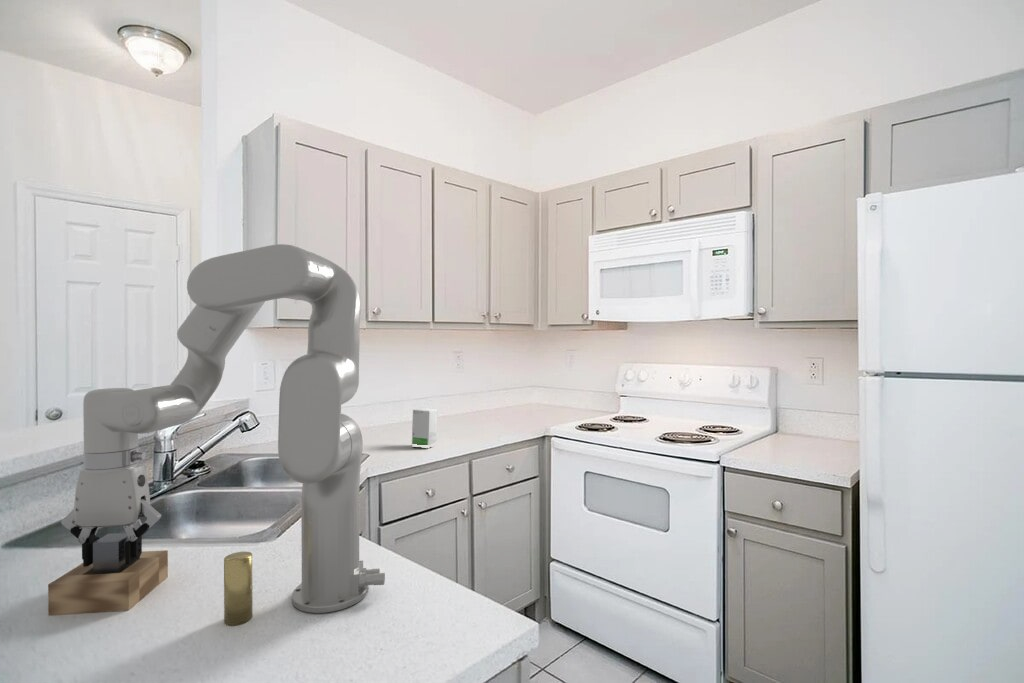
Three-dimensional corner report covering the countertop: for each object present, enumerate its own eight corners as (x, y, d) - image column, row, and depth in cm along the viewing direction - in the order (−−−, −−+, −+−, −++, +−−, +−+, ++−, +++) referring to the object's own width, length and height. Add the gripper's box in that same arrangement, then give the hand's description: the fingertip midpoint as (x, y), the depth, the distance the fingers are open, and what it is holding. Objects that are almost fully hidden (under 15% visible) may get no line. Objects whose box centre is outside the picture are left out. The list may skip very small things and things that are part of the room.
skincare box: (411, 447, 210) (411, 409, 210) (420, 444, 216) (420, 407, 216) (429, 449, 207) (429, 410, 207) (437, 446, 213) (437, 408, 213)
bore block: (167, 576, 97) (167, 550, 97) (128, 610, 85) (128, 580, 85) (98, 580, 95) (97, 553, 95) (48, 615, 83) (48, 584, 83)
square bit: (132, 588, 92) (132, 532, 92) (118, 599, 88) (118, 542, 88) (108, 589, 92) (108, 533, 92) (92, 601, 88) (92, 542, 88)
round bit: (256, 611, 85) (256, 550, 85) (246, 625, 81) (246, 561, 81) (230, 613, 84) (230, 552, 84) (219, 626, 80) (219, 562, 80)
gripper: (175, 453, 95) (176, 550, 95) (72, 456, 93) (73, 555, 93) (152, 463, 87) (153, 569, 87) (40, 466, 85) (41, 575, 85)
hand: (112, 561), depth 90 cm, fingers open, 6 cm apart
